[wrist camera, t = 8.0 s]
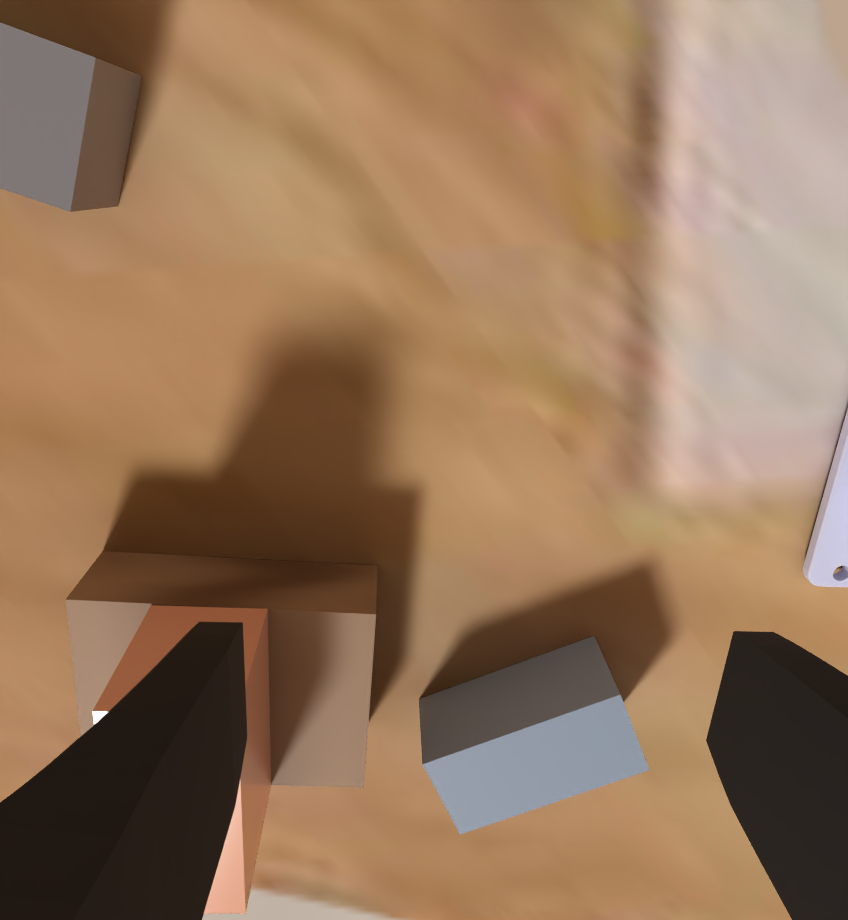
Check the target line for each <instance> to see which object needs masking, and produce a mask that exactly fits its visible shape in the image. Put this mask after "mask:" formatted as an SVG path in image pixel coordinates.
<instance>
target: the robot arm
mask: <svg viewBox="0 0 848 920" xmlns="http://www.w3.org/2000/svg"><path fill="white" fill-rule="evenodd" d="M839 566H843V567H842V569H841V570H840V571H839V572H838V573H836V574H833V572H834V571H835V569H836V568H838V567H839ZM803 573H804V576H805V577H806V578H807V579H808V580H809V581H810V582H811V583H812V584H814V585H816V586H822V587H848V409H847V413H846V416H845V420H844V423H843V427H842V430H841V434H840V438H839V441H838V445H837V448H836V452H835V455H834V459H833V462H832V466H831V470H830V473H829V477H828V480H827V484H826V487H825V491H824V495H823V498H822V502H821V505H820V509H819V512H818V516H817V519H816V523H815V527H814V530H813V534H812V537H811V541H810V544H809V548H808V551H807V555H806V559H805V562H804V566H803ZM706 741H707V744H708V747H709V749H710V752H711V755H712V758H713V760H714V763H715V766H716V769H717V771H718V774H719V777H720V779H721V782H722V784H723V787H724V789H725V792H726V794H727V797H728V799H729V802H730V804H731V807H732V808H733V810H734V812H735V814H736V816H737V818H738V820H739V822H740V824H741V826H742V828H743V830H744V831H745V833H746V835H747V837H748V839H749V841H750V843H751V845H752V847H753V848H754V850H755V852H756V854H757V856H758V858H759V860H760V862H761V863H762V865H763V867H764V869H765V871H766V873H767V874H768V876H769V878H770V880H771V882H772V884H773V885H774V887H775V889H776V891H777V893H778V895H779V896H780V898H781V900H782V902H783V904H784V906H785V907H786V909H787V911H788V913H789V915H790V917H791V918H792V920H848V676H847V675H845V674H844V673H842V672H841V671H839V670H838V669H836V668H834V667H833V666H831V665H830V664H828V663H826V662H825V661H823V660H821V659H820V658H818V657H817V656H815V655H813V654H812V653H810V652H808V651H807V650H805V649H803V648H802V647H800V646H798V645H796V644H795V643H793V642H791V641H789V640H788V639H786V638H784V637H782V636H780V635H778V634H776V633H774V632H742V631H734V632H733V636H732V640H731V644H730V648H729V652H728V656H727V660H726V664H725V668H724V672H723V676H722V680H721V684H720V688H719V692H718V696H717V700H716V704H715V708H714V711H713V715H712V719H711V723H710V727H709V731H708V735H707V739H706ZM246 743H247V714H246V688H245V663H244V638H243V622H198V623H197V624H196V625H195V626H194V627H193V628H192V629H191V630H190V631H189V632H188V633H187V634H186V635H185V636H184V637H183V638H182V639H181V640H180V641H179V642H178V643H177V644H176V645H175V646H174V647H173V648H172V649H171V650H170V651H169V652H168V653H167V654H166V655H165V656H164V657H163V658H162V659H161V660H160V662H159V663H158V664H157V665H156V666H155V667H154V668H153V669H152V670H151V671H150V672H149V673H148V674H147V675H146V676H145V677H144V678H143V679H142V680H141V681H140V682H139V683H138V684H137V685H136V686H135V687H133V688H132V689H131V690H130V691H129V692H128V693H127V694H126V695H125V696H124V697H123V698H122V699H121V700H120V701H119V702H118V703H117V704H116V705H115V706H114V707H113V708H112V709H111V710H110V711H108V712H107V713H106V714H105V715H104V716H103V717H102V718H101V719H100V720H99V721H98V722H97V723H96V724H95V725H93V726H92V727H91V728H90V729H89V730H88V731H87V732H85V733H84V734H83V735H82V736H81V737H80V738H79V739H77V740H76V741H75V742H74V743H73V744H72V745H70V746H69V747H68V748H67V749H66V750H65V751H64V752H62V753H61V754H60V755H59V756H58V757H57V758H56V759H54V760H53V761H52V762H51V763H50V764H49V765H47V766H46V767H45V768H44V769H43V770H41V771H40V772H39V773H38V774H36V775H35V776H34V777H33V778H32V779H30V780H29V781H28V782H27V783H25V784H24V785H23V786H22V787H20V788H19V789H18V790H16V791H15V792H14V793H13V794H11V795H10V796H9V797H7V798H6V799H4V800H3V801H2V802H0V920H202V917H203V914H204V911H205V907H206V904H207V901H208V897H209V894H210V890H211V887H212V884H213V880H214V877H215V874H216V870H217V867H218V864H219V860H220V857H221V853H222V850H223V847H224V843H225V840H226V836H227V833H228V830H229V826H230V823H231V819H232V816H233V812H234V809H235V805H236V799H237V794H238V789H239V783H240V778H241V772H242V766H243V760H244V754H245V748H246Z"/></svg>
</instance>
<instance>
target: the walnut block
mask: <svg viewBox="0 0 848 920" xmlns="http://www.w3.org/2000/svg"><path fill="white" fill-rule="evenodd" d="M377 575H378V565H363V564H343V563H324V562H305V561H285V560H266V559H247V558H228V557H208V556H189V555H170V554H150V553H131V552H112V551H103V552H102V553H101V554H100V555H99V557H98V558H97V559H96V561H95V562H94V563H93V565H92V566H91V567H90V569H89V570H88V571H87V572H86V574H85V575H84V576H83V578H82V579H81V580H80V582H79V583H78V584H77V585H76V587H75V588H74V589H73V591H72V592H71V593H70V595H69V596H68V597H67V599H66V607H67V616H68V625H69V634H70V643H71V652H72V662H73V671H74V680H75V689H76V698H77V707H78V717H79V726H80V735H81V736H82V735H83V734H84V733H85V732H87V731H88V730H89V729H90V728H91V727H92V726H93V725H94V720H93V713H92V711H93V709H94V707H95V706H96V704H97V702H98V700H99V698H100V696H101V695H102V693H103V691H104V689H105V687H106V686H107V684H108V682H109V680H110V678H111V677H112V675H113V673H114V671H115V669H116V668H117V666H118V664H119V662H120V660H121V659H122V657H123V655H124V653H125V651H126V650H127V648H128V646H129V644H130V642H131V641H132V639H133V637H134V635H135V633H136V632H137V630H138V628H139V626H140V624H141V623H142V621H143V619H144V617H145V615H146V614H147V612H148V610H149V608H150V606H151V605H156V606H190V607H224V608H258V609H268V649H269V701H270V753H271V785H289V786H320V787H352V788H364V781H365V766H366V752H367V738H368V723H369V709H370V695H371V681H372V666H373V652H374V638H375V623H376V604H377Z"/></svg>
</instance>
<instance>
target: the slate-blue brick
mask: <svg viewBox="0 0 848 920" xmlns="http://www.w3.org/2000/svg"><path fill="white" fill-rule="evenodd" d="M419 709H420V727H421V745H422V763H423V766H424V768H425V770H426V772H427V774H428V775H429V777H430V779H431V781H432V783H433V785H434V787H435V788H436V790H437V792H438V794H439V796H440V798H441V800H442V802H443V803H444V805H445V807H446V809H447V811H448V813H449V815H450V816H451V818H452V820H453V822H454V824H455V826H456V828H457V829H458V831H459V833H460V834H463V833H466V832H469V831H472V830H475V829H478V828H481V827H484V826H487V825H489V824H492V823H495V822H498V821H501V820H504V819H507V818H510V817H513V816H516V815H519V814H522V813H525V812H528V811H531V810H534V809H536V808H539V807H542V806H545V805H548V804H551V803H554V802H557V801H560V800H563V799H566V798H569V797H572V796H575V795H578V794H581V793H584V792H586V791H589V790H592V789H595V788H598V787H601V786H604V785H607V784H610V783H613V782H616V781H619V780H622V779H625V778H628V777H631V776H633V775H636V774H639V773H642V772H645V771H648V770H649V768H648V765H647V763H646V760H645V757H644V755H643V752H642V749H641V747H640V744H639V742H638V739H637V736H636V734H635V731H634V729H633V726H632V723H631V721H630V718H629V716H628V713H627V710H626V708H625V705H624V703H623V700H622V697H621V695H620V692H619V690H618V688H617V686H616V683H615V681H614V679H613V677H612V674H611V672H610V670H609V668H608V665H607V663H606V661H605V659H604V656H603V654H602V652H601V650H600V647H599V645H598V643H597V641H596V638H595V636H592V637H589V638H586V639H583V640H581V641H578V642H575V643H572V644H570V645H567V646H564V647H561V648H559V649H556V650H553V651H550V652H548V653H545V654H542V655H539V656H537V657H534V658H531V659H528V660H525V661H523V662H520V663H517V664H514V665H512V666H509V667H506V668H503V669H501V670H498V671H495V672H492V673H490V674H487V675H484V676H481V677H478V678H476V679H473V680H470V681H467V682H465V683H462V684H459V685H456V686H454V687H451V688H448V689H445V690H443V691H440V692H437V693H434V694H432V695H429V696H426V697H423V698H420V699H419Z"/></svg>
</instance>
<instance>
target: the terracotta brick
mask: <svg viewBox="0 0 848 920" xmlns="http://www.w3.org/2000/svg"><path fill="white" fill-rule="evenodd" d="M198 622H243V638H244V663H245V688H246V714H247V743H246V748H245V754H244V760H243V766H242V772H241V778H240V783H239V789H238V794H237V799H236V805H235V809H234V812H233V816H232V819H231V823H230V826H229V830H228V833H227V836H226V840H225V843H224V847H223V850H222V853H221V857H220V860H219V864H218V867H217V870H216V874H215V877H214V880H213V884H212V887H211V890H210V894H209V897H208V901H207V904H206V907H205V911H204V913H219V914H222V913H223V914H227V913H228V914H229V913H230V914H232V913H233V914H234V913H235V914H246V909H247V904H248V899H249V894H250V889H251V884H252V879H253V874H254V869H255V864H256V859H257V853H258V848H259V843H260V838H261V833H262V828H263V823H264V818H265V813H266V808H267V803H268V797H269V792H270V787H271V753H270V701H269V649H268V609H258V608H224V607H190V606H156V605H151V606H150V608H149V610H148V612H147V614H146V615H145V617H144V619H143V621H142V623H141V624H140V626H139V628H138V630H137V632H136V633H135V635H134V637H133V639H132V641H131V642H130V644H129V646H128V648H127V650H126V651H125V653H124V655H123V657H122V659H121V660H120V662H119V664H118V666H117V668H116V669H115V671H114V673H113V675H112V677H111V678H110V680H109V682H108V684H107V686H106V687H105V689H104V691H103V693H102V695H101V696H100V698H99V700H98V702H97V704H96V706H95V707H94V709H93V711H92V713H93V720H94V725H95V724H96V723H97V722H98V721H99V720H100V719H101V718H102V717H103V716H104V715H105V714H106V713H107V712H108V711H110V710H111V709H112V708H113V707H114V706H115V705H116V704H117V703H118V702H119V701H120V700H121V699H122V698H123V697H124V696H125V695H126V694H127V693H128V692H129V691H130V690H131V689H132V688H133V687H135V686H136V685H137V684H138V683H139V682H140V681H141V680H142V679H143V678H144V677H145V676H146V675H147V674H148V673H149V672H150V671H151V670H152V669H153V668H154V667H155V666H156V665H157V664H158V663H159V662H160V660H161V659H162V658H163V657H164V656H165V655H166V654H167V653H168V652H169V651H170V650H171V649H172V648H173V647H174V646H175V645H176V644H177V643H178V642H179V641H180V640H181V639H182V638H183V637H184V636H185V635H186V634H187V633H188V632H189V631H190V630H191V629H192V628H193V627H194V626H195V625H196V624H197V623H198Z"/></svg>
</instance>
